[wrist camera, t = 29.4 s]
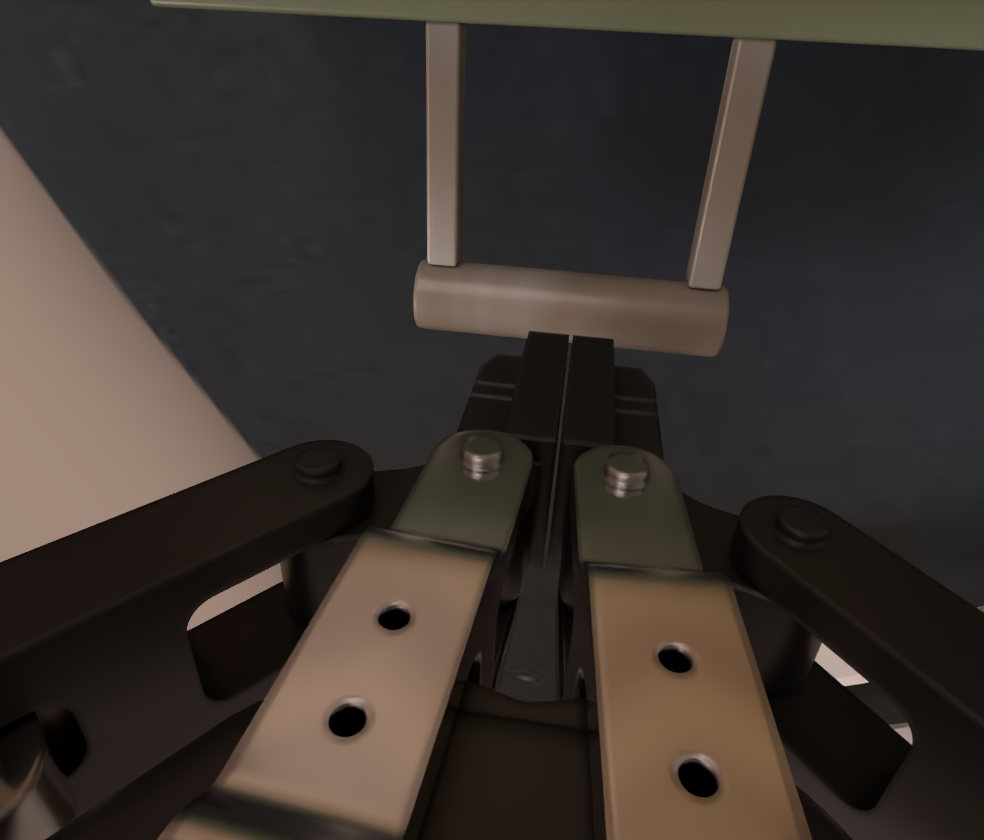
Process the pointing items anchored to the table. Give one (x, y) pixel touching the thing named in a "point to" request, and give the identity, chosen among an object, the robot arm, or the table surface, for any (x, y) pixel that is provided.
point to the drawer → (702, 299)
